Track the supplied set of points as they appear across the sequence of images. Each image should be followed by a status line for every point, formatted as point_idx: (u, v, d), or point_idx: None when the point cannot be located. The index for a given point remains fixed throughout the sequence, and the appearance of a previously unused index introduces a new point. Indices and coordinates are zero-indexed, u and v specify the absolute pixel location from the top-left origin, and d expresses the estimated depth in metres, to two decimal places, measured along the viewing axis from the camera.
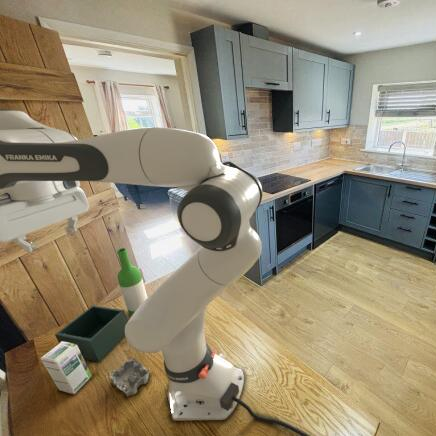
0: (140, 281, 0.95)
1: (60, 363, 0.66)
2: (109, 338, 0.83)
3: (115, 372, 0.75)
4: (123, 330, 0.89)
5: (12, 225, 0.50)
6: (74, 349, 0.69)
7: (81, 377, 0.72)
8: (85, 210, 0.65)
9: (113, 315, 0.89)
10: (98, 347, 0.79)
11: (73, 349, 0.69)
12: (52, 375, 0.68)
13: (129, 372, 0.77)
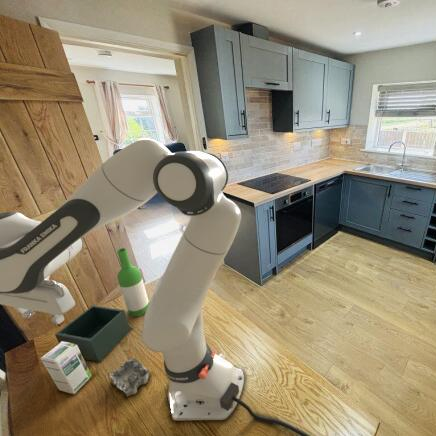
0: (140, 281, 0.95)
1: (60, 363, 0.66)
2: (109, 338, 0.83)
3: (115, 372, 0.75)
4: (123, 330, 0.89)
5: None
6: (74, 349, 0.69)
7: (81, 377, 0.72)
8: None
9: (113, 315, 0.89)
10: (98, 347, 0.79)
11: (73, 349, 0.69)
12: (52, 375, 0.68)
13: (129, 372, 0.77)
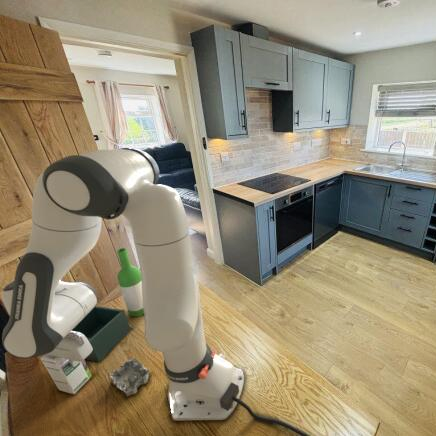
0: (140, 281, 0.95)
1: (60, 363, 0.66)
2: (109, 338, 0.83)
3: (115, 372, 0.75)
4: (123, 330, 0.89)
5: None
6: None
7: (81, 377, 0.72)
8: None
9: (113, 315, 0.89)
10: (98, 347, 0.79)
11: None
12: (52, 375, 0.68)
13: (129, 372, 0.77)
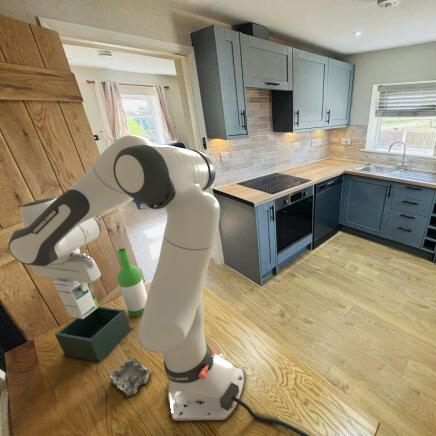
0: (140, 281, 0.95)
1: (71, 286, 0.72)
2: (109, 338, 0.83)
3: (115, 371, 0.75)
4: (123, 330, 0.89)
5: None
6: None
7: (89, 304, 0.78)
8: None
9: (113, 315, 0.89)
10: (98, 347, 0.79)
11: None
12: (63, 299, 0.75)
13: (129, 372, 0.77)
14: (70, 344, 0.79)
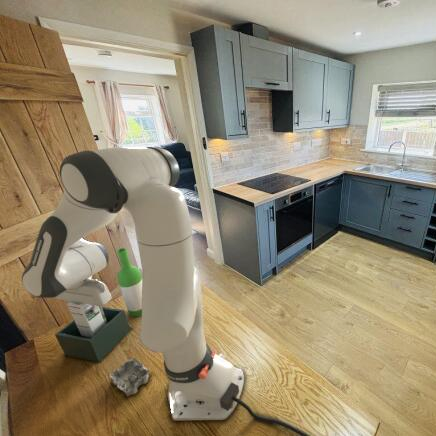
0: (140, 281, 0.95)
1: (84, 308, 0.77)
2: (109, 338, 0.83)
3: (115, 371, 0.75)
4: (123, 330, 0.89)
5: None
6: None
7: (100, 324, 0.83)
8: None
9: (113, 315, 0.89)
10: (98, 347, 0.79)
11: None
12: (76, 320, 0.80)
13: (129, 372, 0.77)
14: (70, 344, 0.79)
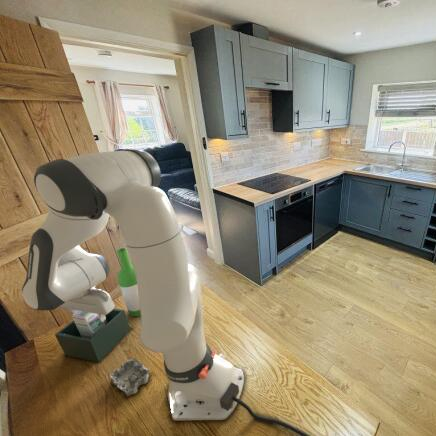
0: None
1: (88, 319, 0.79)
2: (109, 338, 0.83)
3: (115, 371, 0.75)
4: (123, 330, 0.89)
5: None
6: None
7: None
8: None
9: (113, 315, 0.89)
10: (98, 347, 0.79)
11: None
12: (80, 331, 0.81)
13: (129, 372, 0.77)
14: (70, 344, 0.79)
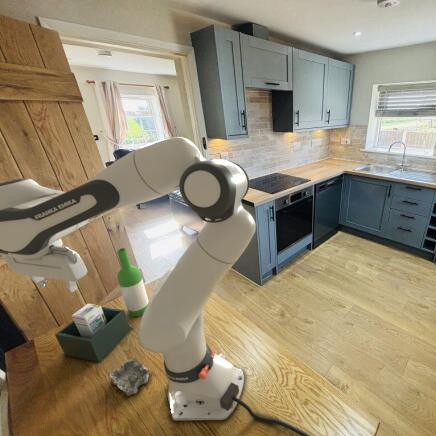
0: (140, 281, 0.95)
1: (88, 320, 0.79)
2: (109, 338, 0.83)
3: (115, 371, 0.75)
4: (123, 330, 0.89)
5: None
6: (99, 309, 0.83)
7: None
8: None
9: (113, 315, 0.89)
10: (98, 347, 0.79)
11: (97, 309, 0.82)
12: (80, 331, 0.81)
13: (129, 372, 0.77)
14: (70, 344, 0.79)
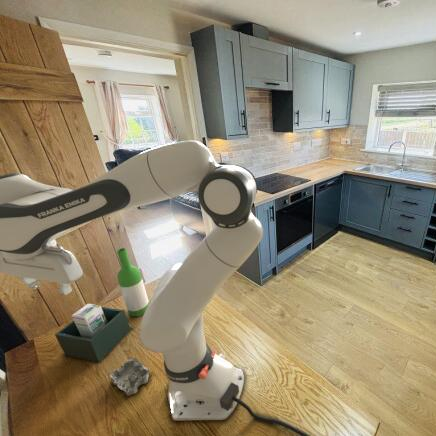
0: (140, 281, 0.95)
1: (88, 320, 0.79)
2: (109, 338, 0.83)
3: (115, 371, 0.75)
4: (123, 330, 0.89)
5: None
6: (99, 309, 0.83)
7: None
8: None
9: (113, 315, 0.89)
10: (98, 347, 0.79)
11: (97, 309, 0.82)
12: (80, 331, 0.81)
13: (129, 372, 0.77)
14: (70, 344, 0.79)
